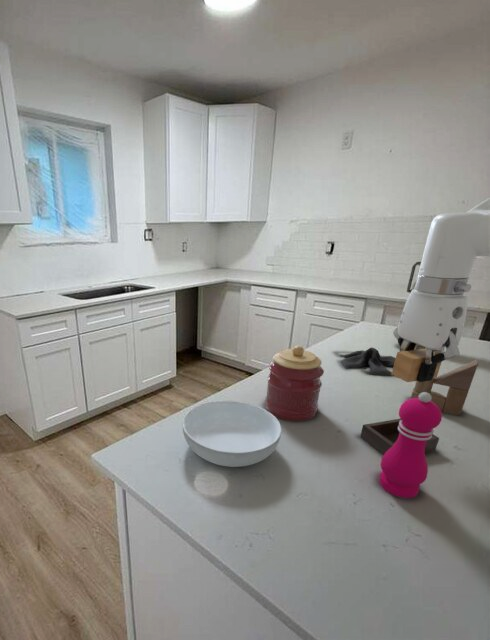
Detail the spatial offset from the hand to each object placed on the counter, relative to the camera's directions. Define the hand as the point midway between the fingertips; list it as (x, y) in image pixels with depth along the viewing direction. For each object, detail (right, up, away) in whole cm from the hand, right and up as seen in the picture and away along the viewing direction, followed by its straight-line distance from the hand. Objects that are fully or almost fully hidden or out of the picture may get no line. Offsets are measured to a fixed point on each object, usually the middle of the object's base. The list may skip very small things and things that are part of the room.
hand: (414, 374), depth 74 cm
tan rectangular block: (0, 0, 0) cm, 0 cm away
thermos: (+39, +8, +58) cm, 71 cm away
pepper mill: (-7, -21, -6) cm, 23 cm away
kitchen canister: (-18, -10, +21) cm, 29 cm away
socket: (0, -16, +6) cm, 17 cm away
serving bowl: (-37, -17, +6) cm, 41 cm away
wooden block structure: (+19, -9, +20) cm, 29 cm away
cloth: (+16, +3, +47) cm, 50 cm away
